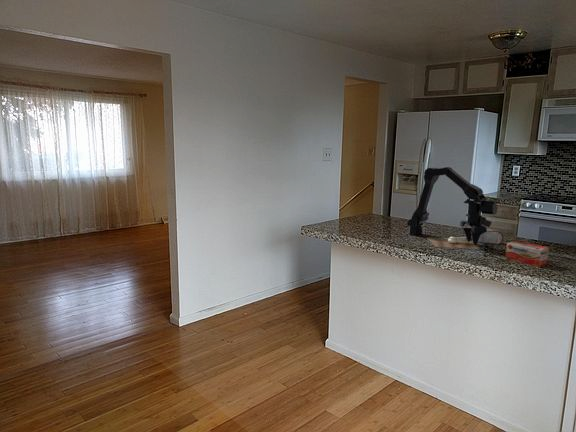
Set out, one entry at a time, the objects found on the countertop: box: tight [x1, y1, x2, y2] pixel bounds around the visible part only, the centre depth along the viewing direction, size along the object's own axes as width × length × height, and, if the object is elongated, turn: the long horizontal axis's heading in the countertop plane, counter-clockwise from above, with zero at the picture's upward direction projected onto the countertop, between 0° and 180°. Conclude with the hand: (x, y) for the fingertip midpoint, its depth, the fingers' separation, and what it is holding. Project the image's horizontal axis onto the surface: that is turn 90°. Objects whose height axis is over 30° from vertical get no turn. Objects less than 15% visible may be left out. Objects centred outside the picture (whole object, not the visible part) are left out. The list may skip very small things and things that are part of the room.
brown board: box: [426, 237, 481, 250], centre depth 216 cm, size 22×20×1 cm
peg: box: [447, 236, 473, 243], centre depth 216 cm, size 12×4×3 cm, turn 92°
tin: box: [477, 228, 504, 245], centre depth 218 cm, size 15×3×8 cm, turn 71°
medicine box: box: [504, 240, 549, 268], centre depth 188 cm, size 15×8×8 cm, turn 35°
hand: (472, 243), depth 210 cm, fingers open, 7 cm apart
